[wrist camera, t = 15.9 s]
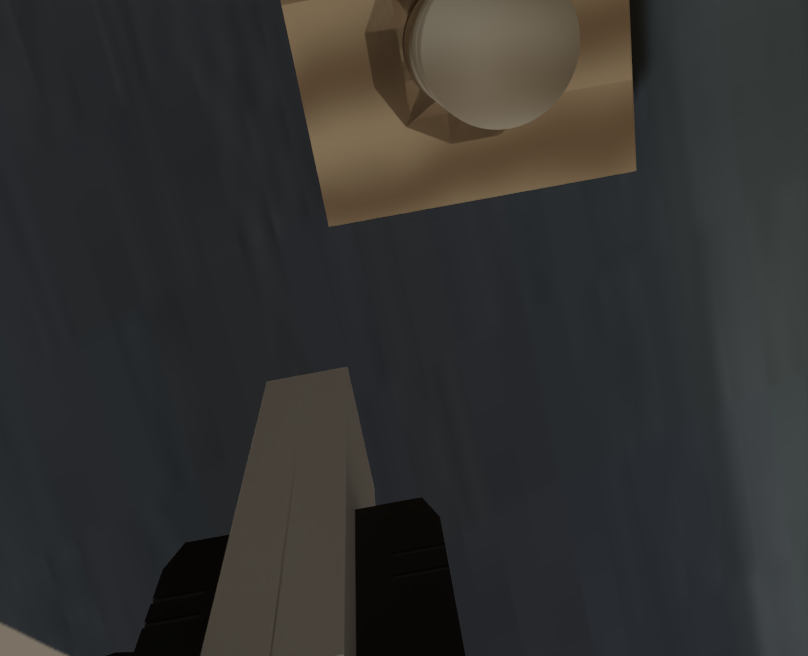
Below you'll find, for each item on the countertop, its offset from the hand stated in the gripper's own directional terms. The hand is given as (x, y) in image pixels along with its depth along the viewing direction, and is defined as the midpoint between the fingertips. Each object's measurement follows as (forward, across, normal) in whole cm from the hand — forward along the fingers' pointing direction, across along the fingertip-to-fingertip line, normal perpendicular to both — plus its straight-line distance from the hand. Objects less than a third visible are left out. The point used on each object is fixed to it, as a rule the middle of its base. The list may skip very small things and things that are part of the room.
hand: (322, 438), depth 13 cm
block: (+29, +7, +6) cm, 31 cm away
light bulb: (+29, +7, +6) cm, 30 cm away
